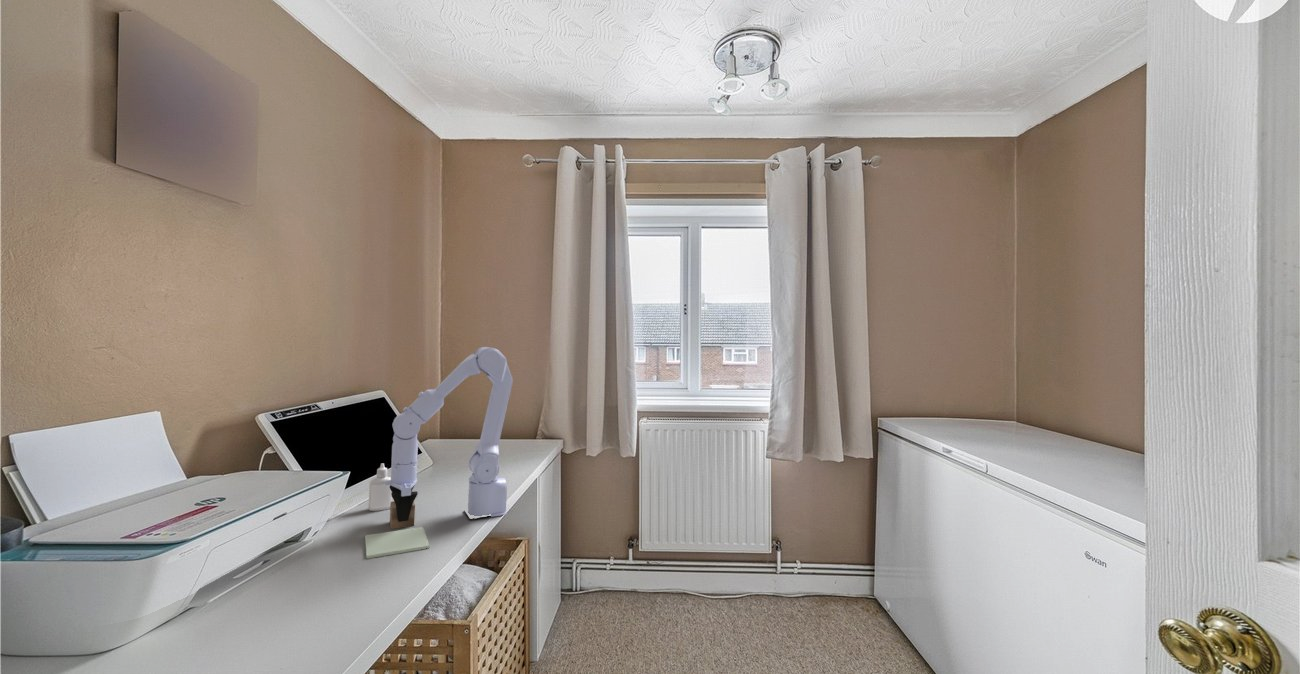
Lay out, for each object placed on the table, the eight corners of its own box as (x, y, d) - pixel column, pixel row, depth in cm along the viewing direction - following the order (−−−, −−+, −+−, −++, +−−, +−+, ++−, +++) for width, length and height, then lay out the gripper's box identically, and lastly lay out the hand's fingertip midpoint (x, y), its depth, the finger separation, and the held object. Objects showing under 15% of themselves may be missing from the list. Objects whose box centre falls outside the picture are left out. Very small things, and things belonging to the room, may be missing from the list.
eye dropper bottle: (387, 511, 130) (389, 465, 130) (365, 511, 129) (367, 465, 129) (395, 506, 134) (396, 461, 134) (373, 505, 134) (375, 461, 134)
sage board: (422, 529, 119) (422, 526, 119) (429, 548, 108) (429, 545, 108) (365, 538, 112) (365, 535, 112) (366, 558, 102) (366, 555, 102)
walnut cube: (412, 518, 125) (412, 499, 125) (414, 525, 121) (415, 505, 121) (389, 522, 123) (390, 501, 123) (391, 528, 118) (392, 508, 118)
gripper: (384, 457, 126) (382, 510, 126) (388, 470, 114) (385, 529, 113) (414, 454, 130) (412, 506, 130) (421, 467, 117) (419, 525, 117)
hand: (402, 517), depth 122 cm, fingers closed on walnut cube, 5 cm apart
